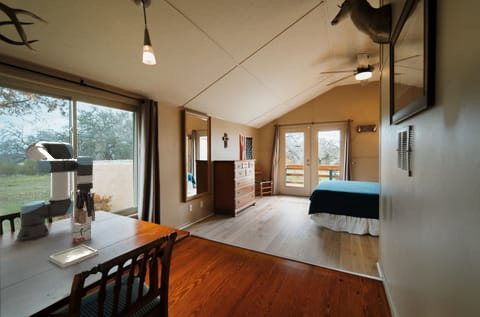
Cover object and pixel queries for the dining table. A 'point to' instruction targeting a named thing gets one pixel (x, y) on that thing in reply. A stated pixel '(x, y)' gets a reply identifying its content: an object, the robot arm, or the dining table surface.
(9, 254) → the dining table surface
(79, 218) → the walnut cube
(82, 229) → the ink box
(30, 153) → the robot arm
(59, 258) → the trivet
